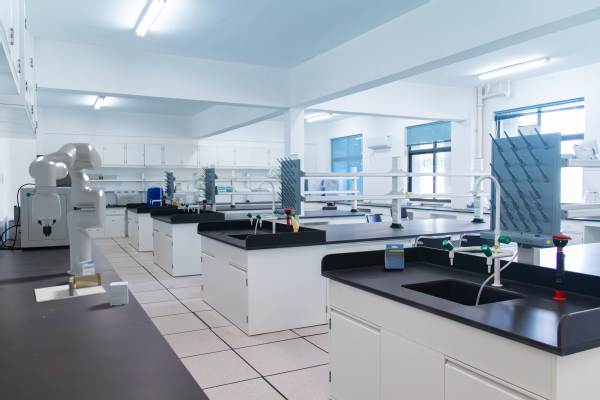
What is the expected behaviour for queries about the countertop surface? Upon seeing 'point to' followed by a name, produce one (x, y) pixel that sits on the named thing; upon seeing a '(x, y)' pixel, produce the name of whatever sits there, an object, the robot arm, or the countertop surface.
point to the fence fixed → (87, 280)
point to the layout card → (65, 292)
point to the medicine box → (84, 268)
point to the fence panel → (71, 287)
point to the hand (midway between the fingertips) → (47, 235)
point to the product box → (118, 293)
